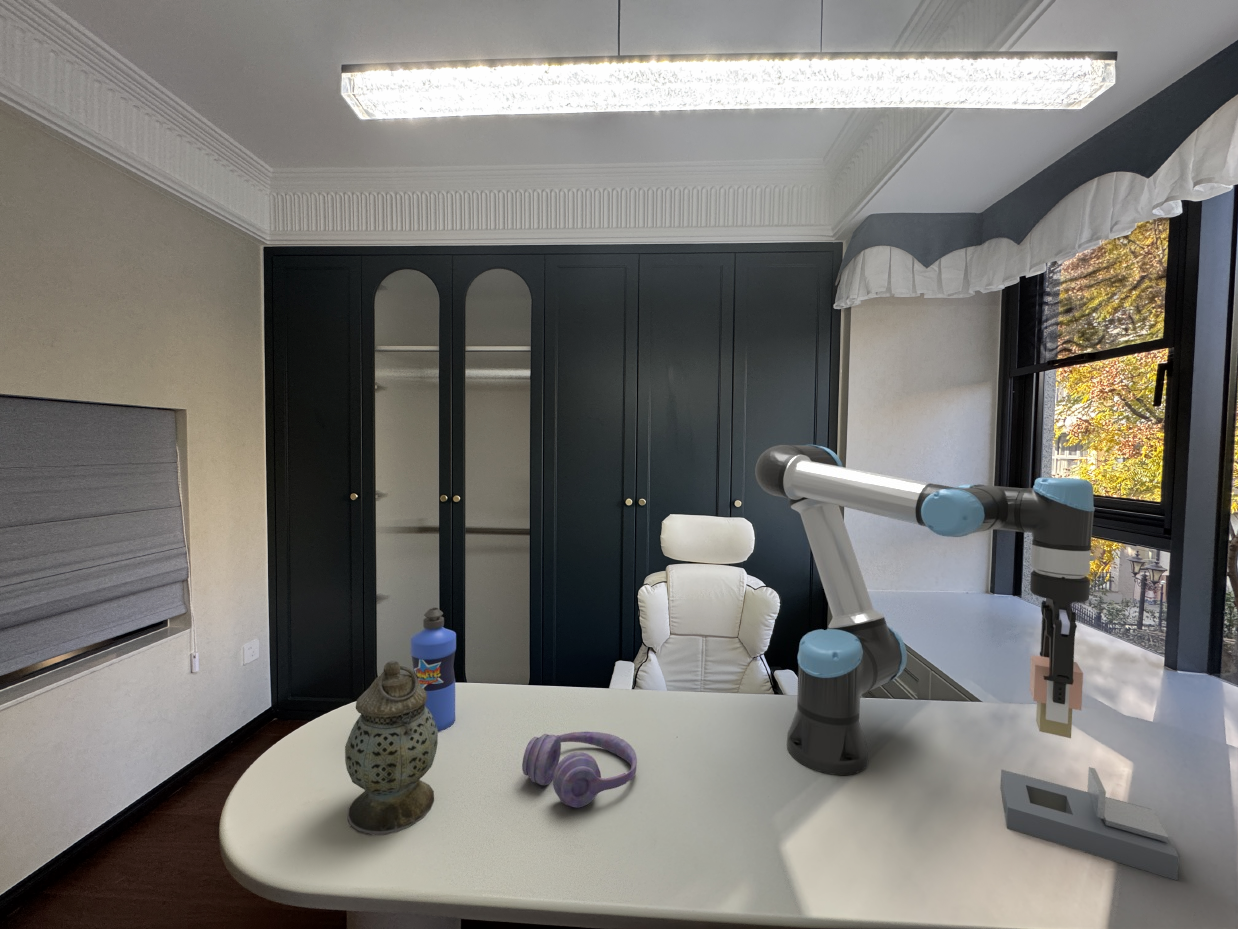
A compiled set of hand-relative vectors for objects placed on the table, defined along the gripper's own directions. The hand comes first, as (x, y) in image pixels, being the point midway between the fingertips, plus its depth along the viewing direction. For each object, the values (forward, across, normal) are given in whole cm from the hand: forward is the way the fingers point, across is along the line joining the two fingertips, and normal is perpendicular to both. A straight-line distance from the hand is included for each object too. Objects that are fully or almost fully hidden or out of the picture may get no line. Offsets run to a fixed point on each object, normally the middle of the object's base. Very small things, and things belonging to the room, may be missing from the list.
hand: (1053, 712), depth 90 cm
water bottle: (+18, -32, +110) cm, 117 cm away
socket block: (+18, 0, -4) cm, 19 cm away
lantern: (+18, -55, +94) cm, 110 cm away
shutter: (+14, 0, -9) cm, 17 cm away
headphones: (+18, -31, +72) cm, 80 cm away
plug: (+3, 0, 0) cm, 3 cm away
